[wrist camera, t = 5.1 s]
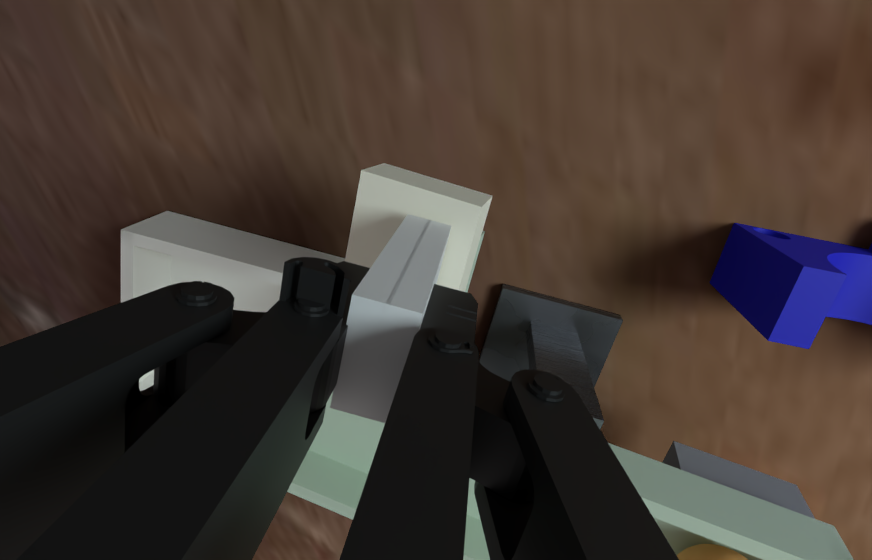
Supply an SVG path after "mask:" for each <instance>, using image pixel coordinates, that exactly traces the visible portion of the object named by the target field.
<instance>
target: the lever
mask: <svg viewBox="0 0 872 560" xmlns="http://www.w3.org/2000/svg"><path fill="white" fill-rule="evenodd" d="M491 199H492V195H488V194H485V193H482V192H478V191H475V190H472V189H468V188H465V187H462V186H458V185H455V184H452V183H448V182H445V181H442V180H438V179H435V178H432V177H428V176H425V175H422V174H418V173H415V172H412V171H409V170H405V169H402V168H399V167H395V166H392V165H389V164H385V163H383V164H380V165H376V166H373V167H370V168H367V169H364V170H361V175H360V181H359V186H358V192H357V197H356V203H355V208H354V214H353V219H352V225H351V230H350V236H349V241H348V247H347V252H346V257H345V261H346V262H349V263H353V264H357V265H361V266H364V267H368V268H371V266H372V265H373V264H374V262H375V261H376V259H377V258H378V256H379V255H380V253H381V252H382V251H383V249H384V248H385V246H386V245H387V243H388V242H389V240H390V239H391V238H392V236H393V235H394V233H395V232H396V230H397V229H398V227H399V226H400V225H401V223H402V222H403V220H404V219H405V217H406V216H407V214H410V215H413V216H417V217H421V218H425V219H428V220H432V221H436V222H439V223H443V224H447V225H451V230H450V234H449V238H448V242H447V245H446V249H445V253H444V257H443V261H442V265H441V268H440V272H439V276H438V280H437V285H440V286H444V287H448V288H452V289H455V290H459V291H463V292H467V291H468V288H469V284H470V281H471V278H472V274H473V271H474V267H475V264H476V260H477V257H478V253H479V250H480V246H481V243H482V240H483V236H484V233H485V231H483V227H484V224H485V220H486V217H487V213H488V210H489V206H490V203H491ZM332 395H333V392H332V394H331V395H330V397H329V399H328V401H327V403H326V409H325V414H324V419H323V423H322V425H321V427H320V429H319V431H318V433H317V435H316V437H315V439H314V441H313V442H312V444H311V446H310V448H309V450H308V452H307V454H306V456H305V458H304V460H303V462H302V464H301V466H300V467H299V469H298V471H297V473H296V475H295V477H294V479H293V481H292V483H291V485H290V487H289V489H288V491H287V492H289V493H292V494H294V495H296V496H299V497H301V498H303V499H306V500H308V501H310V502H313V503H315V504H317V505H320V506H322V507H324V508H327V509H329V510H331V511H334V512H336V513H338V514H341V515H343V516H345V517H348V518H350V519H352V520H353V518H354V515H355V512H356V509H357V506H358V503H359V500H360V497H361V494H362V491H363V488H364V485H365V482H366V479H367V476H368V473H369V470H370V467H371V464H372V461H373V458H374V455H375V452H376V449H377V446H378V443H379V440H380V437H381V434H382V431H383V428H384V425H385V423H383V422H379V421H375V420H372V419H368V418H364V417H361V416H358V415H354V414H350V413H347V412H343V411H339V410H336V409H332V408H330V405H331V400H332ZM608 444H609V445H610V447H611V449H612V450H613V452H614V454H615V455H616V457H617V459H618V460H619V462H620V463H621V465H622V467H623V468H624V470H625V472H626V473H627V475H628V477H629V478H630V480H631V482H632V483H633V485H634V486H635V488H636V490H637V491H638V493H639V495H640V496H641V498H642V500H643V501H644V503H645V505H646V506H647V508H648V510H649V511H650V513H651V514H652V516H653V518H654V519H655V521H656V523H657V524H658V526H659V528H660V529H661V531H662V533H663V534H664V536H665V537H666V539H667V541H668V542H669V544H670V546H671V547H672V549H673V551H674V552H675V554H676V556H677V555H678V554H679V553H680V552H681V551H683V550H684V549H686V548H688V547H691V546H694V545H698V544H715V545H720V546H724V547H727V548H730V549H732V550H734V551H736V552H738V553H740V554H741V555H742V556H744V557H745V558H747V559H748V560H854V559H853V558H852V556H851V554H850V553H849V551H848V549H847V547H846V546H845V544H844V542H843V540H842V539H841V537H840V535H839V534H838V532H837V530H836V528H835V527H834V526H833V525H830V524H827V523H824V522H822V521H819V520H816V519H815V518H814V516H813V514H812V512H811V511H810V509H809V507H808V505H807V503H806V501H805V500H804V498H803V496H802V494H801V492H800V490H799V489H798V487H797V485H795V484H792V483H789V482H786V481H784V480H781V479H778V478H775V477H772V476H770V475H767V474H764V473H761V472H759V471H756V470H753V469H750V468H747V467H745V466H742V465H739V464H736V463H734V462H731V461H728V460H725V459H722V458H720V457H717V456H714V455H711V454H709V453H706V452H703V451H700V450H697V449H695V448H692V447H689V446H686V445H684V444H681V443H678V442H675V441H673V443H672V445H671V447H670V449H669V451H668V453H667V454H666V456H665V458H664V460H663V462H662V463H661V462H659V461H656V460H653V459H651V458H648V457H645V456H642V455H640V454H637V453H634V452H632V451H629V450H626V449H623V448H621V447H618V446H615V445H613V444H610V443H608ZM474 484H475V481H474V480H473V479H471V478H469V491H468V504H467V517H466V531H465V544H464V557H463V560H490V557H489V553H488V548H487V544H486V540H485V536H484V532H483V528H482V523H481V519H480V515H479V511H478V507H477V503H476V498H475V494H474Z"/></svg>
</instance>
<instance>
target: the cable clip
mask: <svg viewBox="0 0 872 560" xmlns="http://www.w3.org/2000/svg"><path fill="white" fill-rule="evenodd" d="M710 284H711V285H712V286H713V287H714V288H715V289H716V290H717V291H718V292H719V293H720V294H721V295H722V296H723V297H724V298H725V299H726V300H727V301H728V302H729V303H730V304H731V305H732V306H733V307H734V308H735V309H736V310H737V311H739V312H740V313H741V314H742V315H743V316H744V317H745V318H746V319H747V320H748V321H749V322H750V323H751V324H752V325H753V326H754V327H755V328H756V329H757V330H758V331H759V332H760V333H761V334H762V335H763V336H764V337H765V338H766V339H767V340H768V341H772V342H777V343H782V344H787V345H792V346H796V347H801V348H806V349H809V348H810V346H811V344H812V342H813V340H814V338H815V336H816V334H817V332H818V331H819V329H820V327H821V325H822V323H823V321H824V319H825V317H833V318H841V319H847V320H852V321H857V322H862V323H866V324H870V325H872V244H871V246H870V248H869V249H864V248H859V247H854V246H849V245H844V244H839V243H834V242H829V241H824V240H819V239H814V238H809V237H804V236H799V235H794V234H789V233H784V232H779V231H774V230H769V229H763V228H758V227H753V226H748V225H743V224H738V223H734V224H733V227H732V229H731V232H730V234H729V237H728V239H727V241H726V244H725V246H724V249H723V251H722V253H721V256H720V258H719V261H718V263H717V266H716V268H715V270H714V273H713V275H712V278H711V280H710Z"/></svg>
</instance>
